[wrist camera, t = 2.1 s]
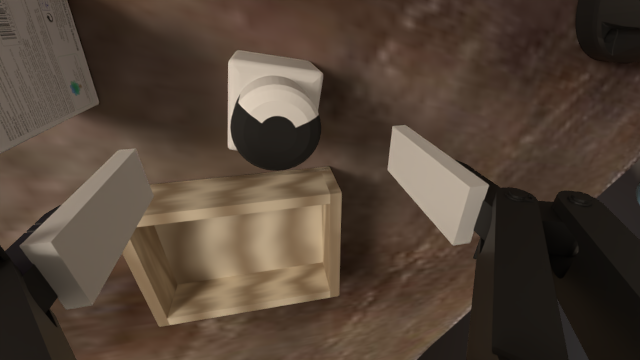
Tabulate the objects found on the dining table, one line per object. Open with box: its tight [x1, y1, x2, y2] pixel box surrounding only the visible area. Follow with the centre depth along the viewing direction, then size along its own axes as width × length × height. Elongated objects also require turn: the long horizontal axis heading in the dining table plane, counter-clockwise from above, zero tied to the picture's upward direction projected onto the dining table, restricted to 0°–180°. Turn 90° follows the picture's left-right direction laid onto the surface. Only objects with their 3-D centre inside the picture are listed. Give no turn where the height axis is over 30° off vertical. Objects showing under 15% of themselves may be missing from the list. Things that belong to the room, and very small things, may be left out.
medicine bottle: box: [228, 50, 323, 171], centre depth 23 cm, size 7×7×12 cm
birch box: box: [122, 166, 342, 327], centre depth 34 cm, size 22×16×6 cm
